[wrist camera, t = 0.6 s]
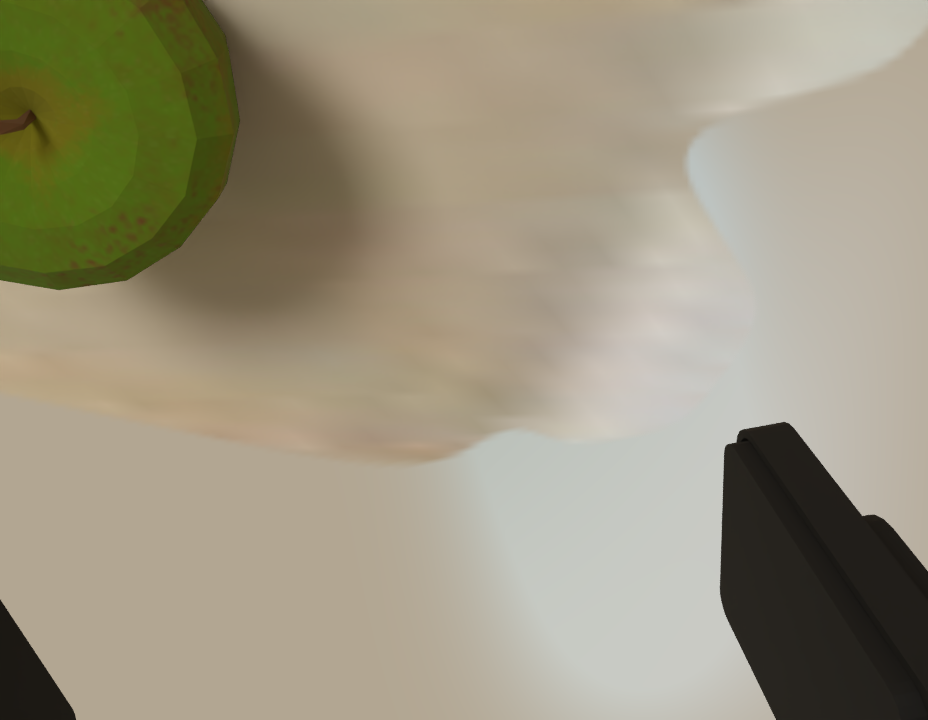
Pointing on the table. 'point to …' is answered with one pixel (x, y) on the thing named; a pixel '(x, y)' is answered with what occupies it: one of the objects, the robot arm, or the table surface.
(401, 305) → the table surface
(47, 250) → the apple
